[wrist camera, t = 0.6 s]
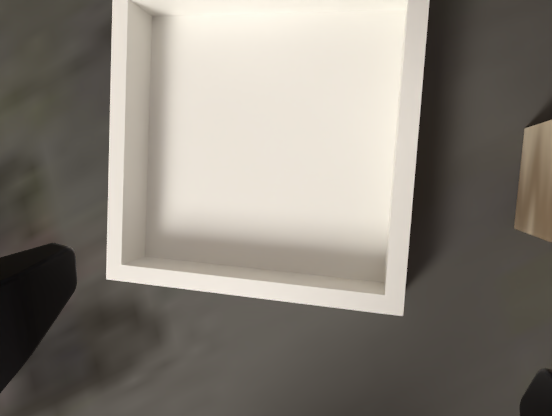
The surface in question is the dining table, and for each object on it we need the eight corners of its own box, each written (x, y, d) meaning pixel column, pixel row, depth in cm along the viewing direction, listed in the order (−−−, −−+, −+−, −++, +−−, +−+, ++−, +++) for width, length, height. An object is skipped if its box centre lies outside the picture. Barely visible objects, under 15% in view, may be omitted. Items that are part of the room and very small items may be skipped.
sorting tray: (399, 296, 21) (403, 316, 18) (138, 266, 24) (106, 279, 21) (423, -3, 20) (432, -34, 17) (146, 6, 23) (113, -19, 20)
